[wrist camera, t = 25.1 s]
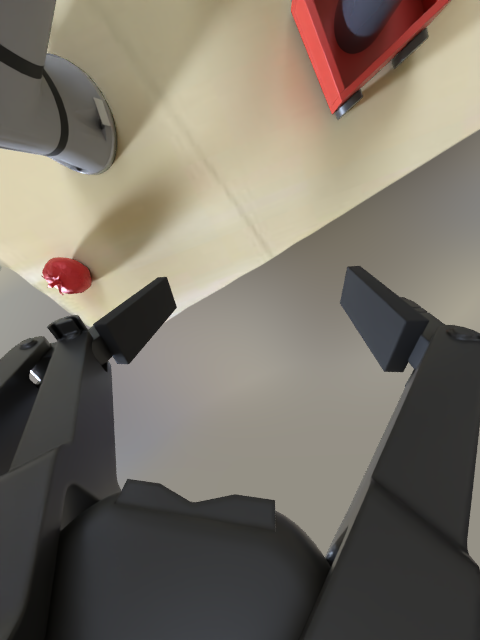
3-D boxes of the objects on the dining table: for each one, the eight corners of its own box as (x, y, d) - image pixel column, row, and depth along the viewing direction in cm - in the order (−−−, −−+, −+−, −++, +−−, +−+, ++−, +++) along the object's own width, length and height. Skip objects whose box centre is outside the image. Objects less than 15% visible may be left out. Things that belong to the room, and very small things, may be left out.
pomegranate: (60, 247, 50) (22, 256, 43) (98, 266, 52) (67, 278, 44) (62, 277, 56) (28, 290, 48) (95, 294, 57) (68, 309, 50)
